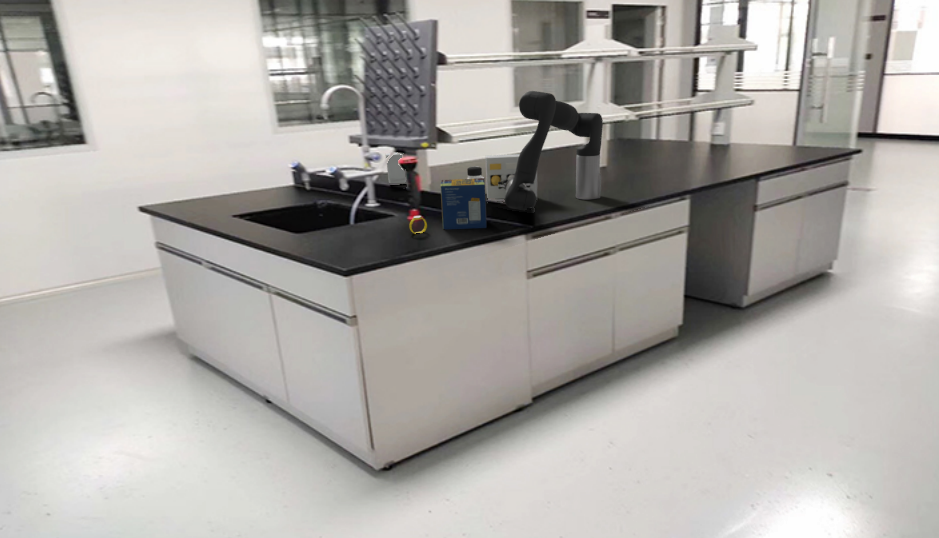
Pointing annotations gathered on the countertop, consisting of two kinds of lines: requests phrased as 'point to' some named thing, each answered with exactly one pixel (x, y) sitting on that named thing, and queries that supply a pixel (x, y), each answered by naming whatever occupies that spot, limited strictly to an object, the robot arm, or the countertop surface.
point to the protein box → (463, 203)
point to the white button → (510, 176)
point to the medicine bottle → (474, 172)
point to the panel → (502, 173)
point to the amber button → (495, 179)
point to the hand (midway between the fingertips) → (512, 180)
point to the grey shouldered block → (395, 169)
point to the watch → (417, 219)
